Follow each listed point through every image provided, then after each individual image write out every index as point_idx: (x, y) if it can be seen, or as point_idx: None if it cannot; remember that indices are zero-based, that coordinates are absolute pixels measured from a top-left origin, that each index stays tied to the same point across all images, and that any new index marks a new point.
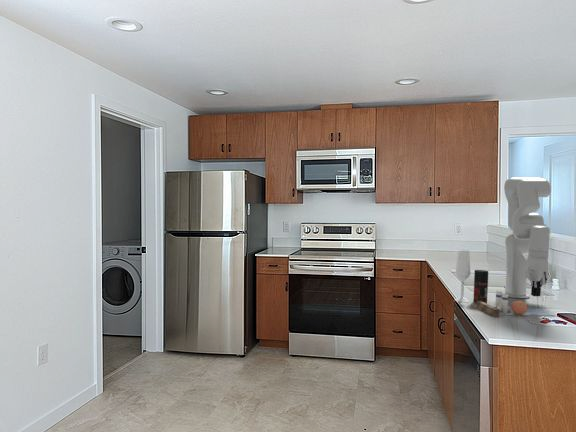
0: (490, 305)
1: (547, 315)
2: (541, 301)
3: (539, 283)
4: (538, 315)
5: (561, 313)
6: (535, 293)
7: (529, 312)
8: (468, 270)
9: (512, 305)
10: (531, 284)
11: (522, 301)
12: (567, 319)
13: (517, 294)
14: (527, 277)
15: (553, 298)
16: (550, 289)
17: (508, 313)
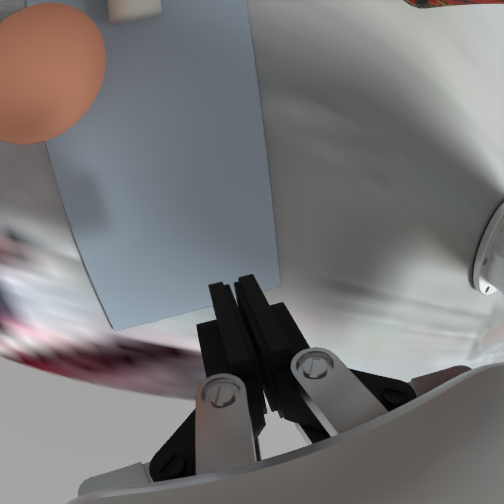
0: None
1: (95, 287)
2: (430, 322)
3: (154, 479)
4: (71, 226)
5: (203, 370)
6: (209, 324)
7: (145, 182)
8: None
9: (28, 7)
10: (327, 364)
11: (12, 101)
12: (58, 362)
13: (496, 248)
14: (437, 402)
15: (448, 358)
16: (501, 352)
17: (71, 2)
